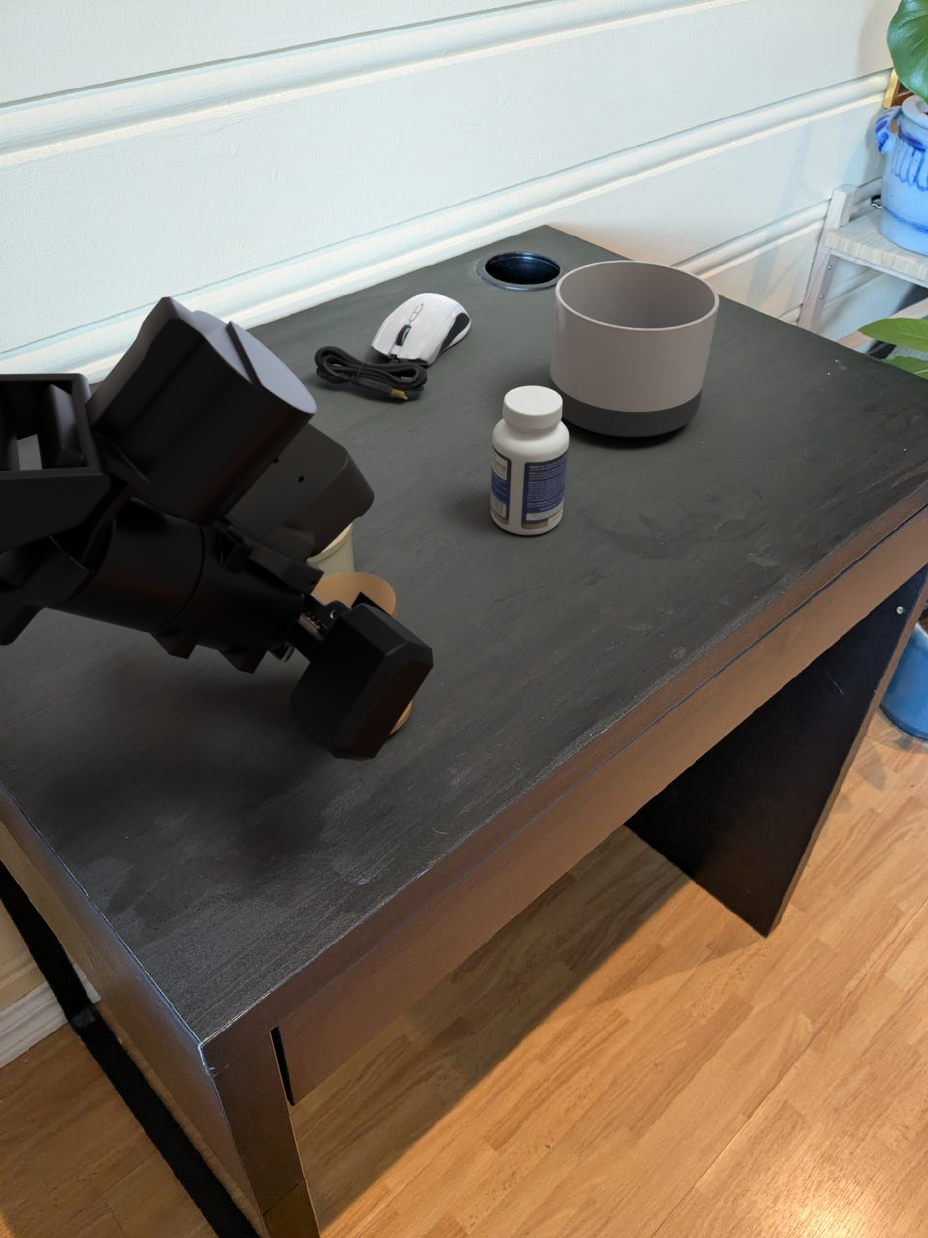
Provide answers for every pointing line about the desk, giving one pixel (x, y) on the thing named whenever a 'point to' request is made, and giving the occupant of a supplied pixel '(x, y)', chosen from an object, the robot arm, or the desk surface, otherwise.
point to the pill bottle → (529, 461)
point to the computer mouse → (400, 347)
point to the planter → (631, 346)
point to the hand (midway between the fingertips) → (373, 636)
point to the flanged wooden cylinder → (347, 590)
